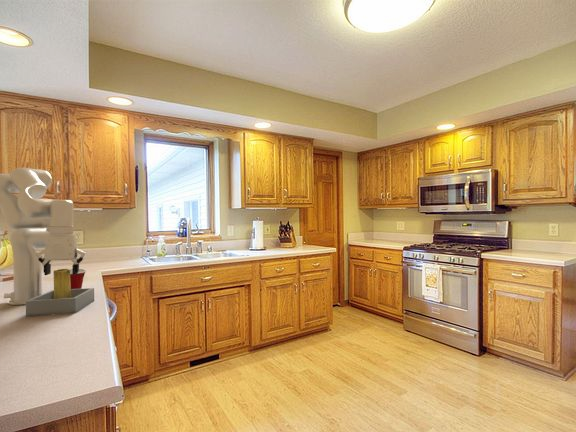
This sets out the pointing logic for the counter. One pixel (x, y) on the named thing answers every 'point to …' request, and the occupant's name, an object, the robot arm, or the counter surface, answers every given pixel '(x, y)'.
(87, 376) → the counter surface
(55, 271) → the vase
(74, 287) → the plastic cup
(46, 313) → the box
